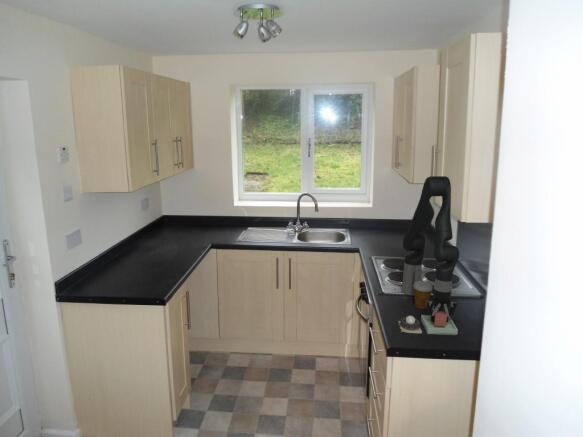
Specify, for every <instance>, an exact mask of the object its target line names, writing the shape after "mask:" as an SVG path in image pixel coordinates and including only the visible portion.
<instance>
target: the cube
mask: <svg viewBox="0 0 583 437" xmlns="http://www.w3.org/2000/svg"><path fill="white" fill-rule="evenodd" d="M446 320H447V315H446V314H445V311H444V310H438V311H437V312H436V313H435V320H434V325H435V326H446Z"/></svg>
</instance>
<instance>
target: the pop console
mask: <svg viewBox="0 0 583 437" xmlns="http://www.w3.org/2000/svg"><path fill="white" fill-rule="evenodd" d="M406 317H407V316H404V317H401V319H400V320H398V321H397V323H398V326H400V327H399V329H401V330H400V332H401V333H402V332H405V334H406V333H408V334H423V330H422V329H421V320H419V319H418V318H415V324H409V323H406Z"/></svg>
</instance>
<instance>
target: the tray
mask: <svg viewBox="0 0 583 437" xmlns="http://www.w3.org/2000/svg"><path fill="white" fill-rule="evenodd" d="M420 323H421V324H422V326H423V328H424V330H425V332H426V333H427V335H443V336H444V335H448V336H450V335H451V336H457V335H458V328H457V326H456V324H455V323H454V321H453V320H452V318H451V315H450V316H449V318H448V322H447V323H446V326H435V325H434V323H432V322H431V314H428V315H427V314H421V317H420Z"/></svg>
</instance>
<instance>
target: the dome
mask: <svg viewBox="0 0 583 437" xmlns="http://www.w3.org/2000/svg"><path fill="white" fill-rule="evenodd" d="M405 317H406V323H409V324H415V319H416V318H415V317H414V316H413V315H407V316H405Z"/></svg>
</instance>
